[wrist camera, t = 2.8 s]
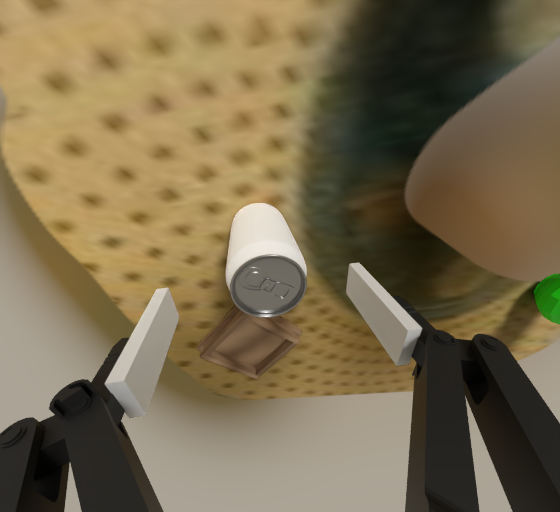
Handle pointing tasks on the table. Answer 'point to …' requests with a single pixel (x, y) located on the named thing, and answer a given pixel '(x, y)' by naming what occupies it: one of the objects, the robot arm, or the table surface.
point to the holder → (249, 342)
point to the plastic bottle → (549, 298)
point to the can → (264, 263)
